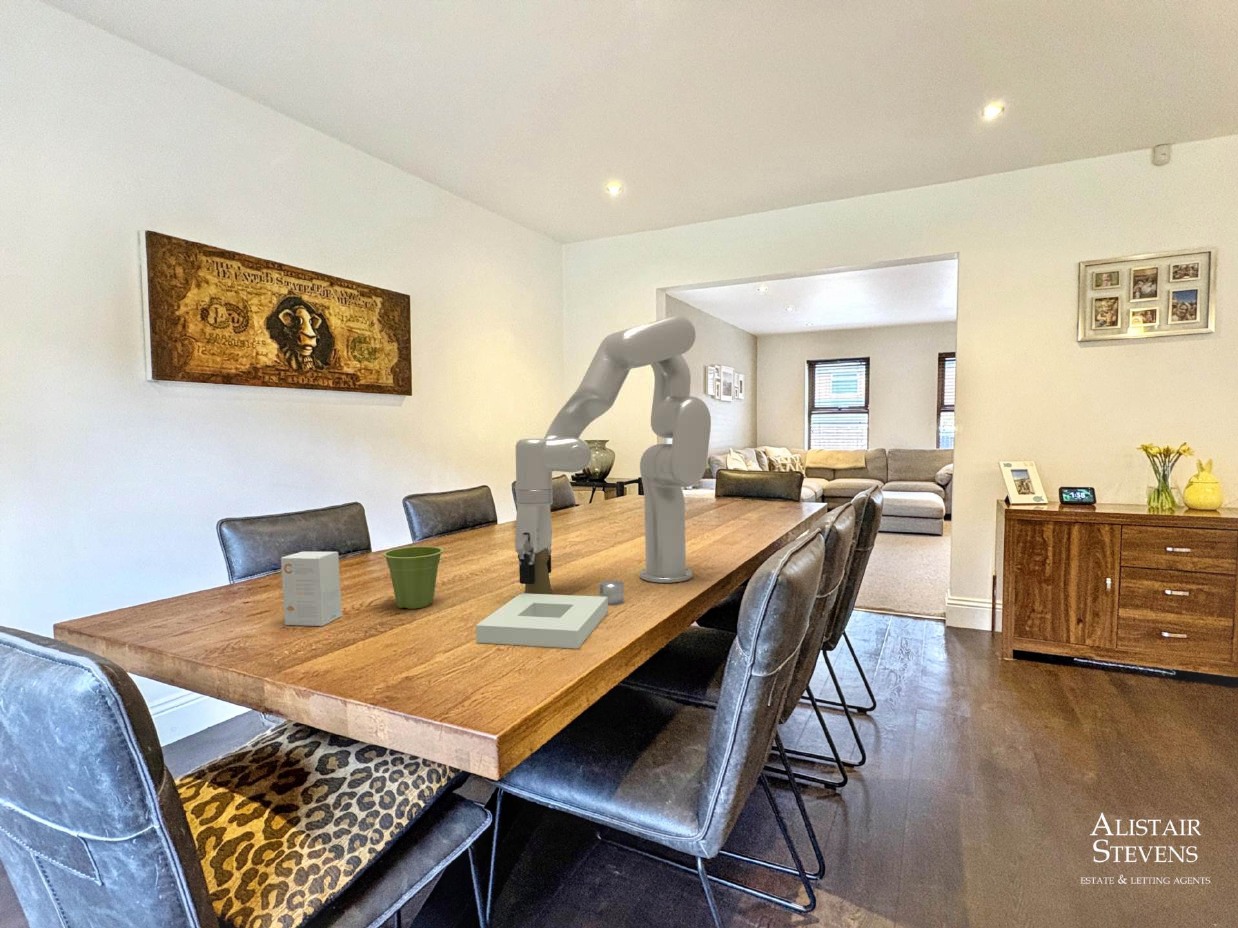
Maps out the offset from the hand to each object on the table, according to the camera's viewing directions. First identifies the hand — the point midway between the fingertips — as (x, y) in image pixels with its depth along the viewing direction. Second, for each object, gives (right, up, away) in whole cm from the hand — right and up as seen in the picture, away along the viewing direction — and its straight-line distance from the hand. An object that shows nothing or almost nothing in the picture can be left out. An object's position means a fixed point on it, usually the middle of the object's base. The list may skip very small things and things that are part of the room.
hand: (536, 577), depth 130 cm
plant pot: (-25, -5, -2) cm, 25 cm away
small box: (-41, -6, -11) cm, 43 cm away
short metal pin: (+16, -4, -3) cm, 17 cm away
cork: (0, -5, 0) cm, 5 cm away
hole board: (+4, -6, -18) cm, 19 cm away
